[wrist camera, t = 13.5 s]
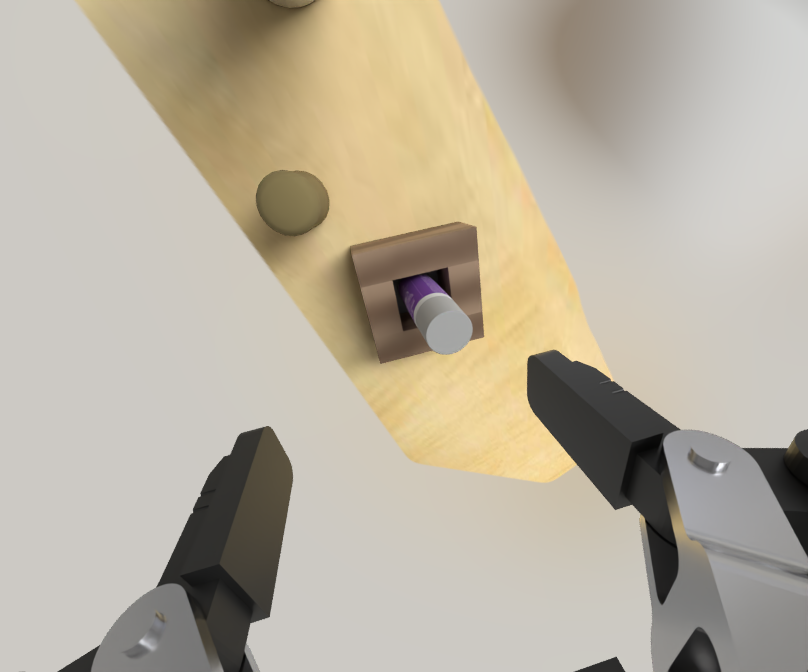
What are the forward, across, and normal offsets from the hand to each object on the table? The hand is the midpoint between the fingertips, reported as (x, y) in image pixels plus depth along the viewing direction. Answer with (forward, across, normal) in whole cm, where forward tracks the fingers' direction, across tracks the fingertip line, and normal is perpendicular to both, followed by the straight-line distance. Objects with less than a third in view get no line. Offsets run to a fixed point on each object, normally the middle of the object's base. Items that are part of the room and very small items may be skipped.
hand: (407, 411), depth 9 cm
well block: (+32, -6, +7) cm, 33 cm away
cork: (+32, +5, -6) cm, 33 cm away
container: (+32, -6, +7) cm, 33 cm away
